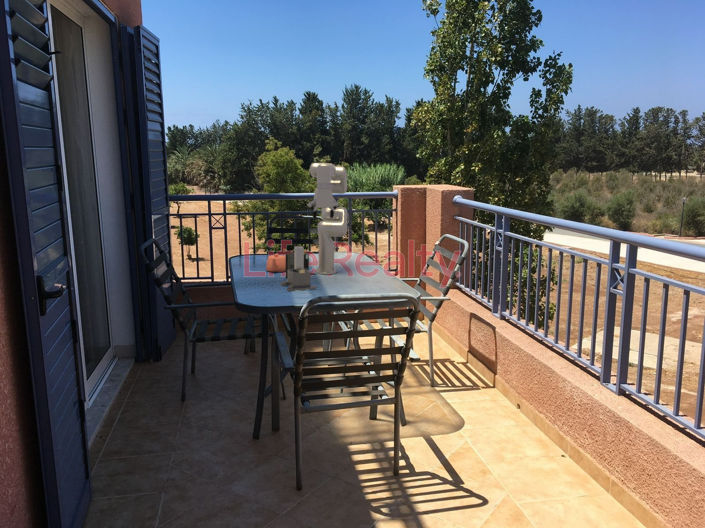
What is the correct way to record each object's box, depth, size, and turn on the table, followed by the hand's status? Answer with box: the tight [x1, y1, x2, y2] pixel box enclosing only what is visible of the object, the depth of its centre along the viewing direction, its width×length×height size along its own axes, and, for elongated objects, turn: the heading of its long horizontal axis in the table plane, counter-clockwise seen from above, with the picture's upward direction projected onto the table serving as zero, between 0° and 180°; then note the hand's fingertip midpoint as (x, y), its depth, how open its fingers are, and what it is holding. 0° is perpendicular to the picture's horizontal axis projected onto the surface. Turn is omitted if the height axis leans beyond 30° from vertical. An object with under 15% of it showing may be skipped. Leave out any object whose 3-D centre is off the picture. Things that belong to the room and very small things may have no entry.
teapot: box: [265, 253, 286, 273], centre depth 341 cm, size 12×18×10 cm, turn 175°
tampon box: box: [285, 251, 310, 279], centre depth 324 cm, size 11×9×15 cm
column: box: [293, 245, 305, 272], centre depth 303 cm, size 5×4×16 cm
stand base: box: [280, 268, 318, 292], centre depth 305 cm, size 16×16×10 cm
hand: (323, 218), depth 311 cm, fingers open, 9 cm apart
